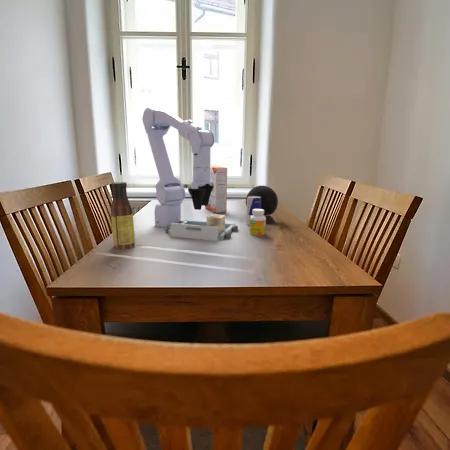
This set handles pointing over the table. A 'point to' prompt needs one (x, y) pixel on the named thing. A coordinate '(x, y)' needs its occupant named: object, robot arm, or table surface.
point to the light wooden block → (217, 222)
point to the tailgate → (194, 231)
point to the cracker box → (218, 190)
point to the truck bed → (225, 235)
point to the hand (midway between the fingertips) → (201, 207)
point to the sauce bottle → (122, 218)
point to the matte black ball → (265, 201)
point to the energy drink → (252, 206)
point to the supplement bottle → (257, 222)
